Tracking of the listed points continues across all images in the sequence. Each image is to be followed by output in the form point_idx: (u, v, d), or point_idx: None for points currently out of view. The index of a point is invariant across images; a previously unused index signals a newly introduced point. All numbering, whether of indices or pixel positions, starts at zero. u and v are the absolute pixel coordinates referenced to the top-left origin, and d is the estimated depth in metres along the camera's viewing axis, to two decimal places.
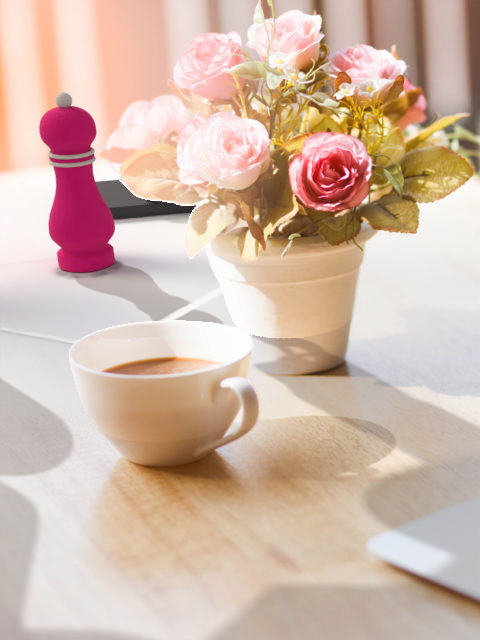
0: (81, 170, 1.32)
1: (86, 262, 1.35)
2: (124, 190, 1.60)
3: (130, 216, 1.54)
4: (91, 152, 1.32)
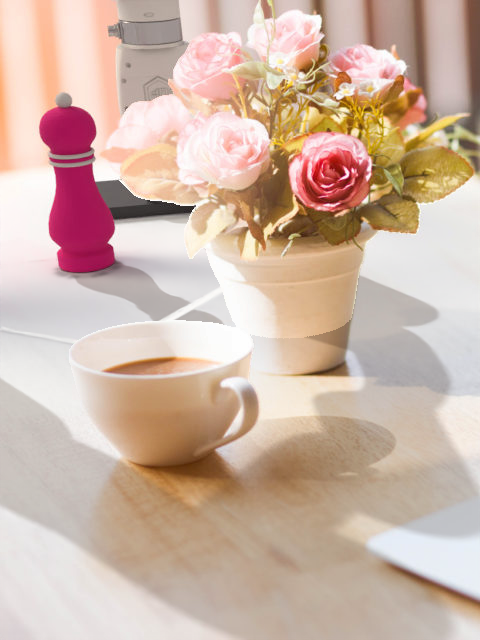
0: (81, 170, 1.32)
1: (86, 262, 1.35)
2: (124, 190, 1.60)
3: (130, 216, 1.54)
4: (91, 152, 1.32)
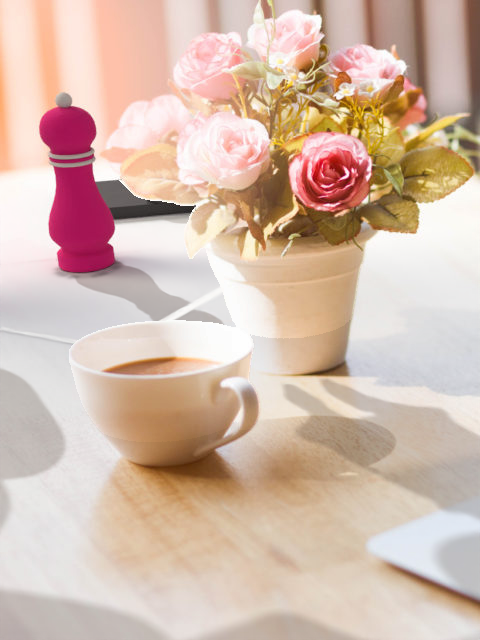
0: (81, 170, 1.32)
1: (86, 262, 1.35)
2: (124, 190, 1.60)
3: (130, 216, 1.54)
4: (91, 152, 1.32)
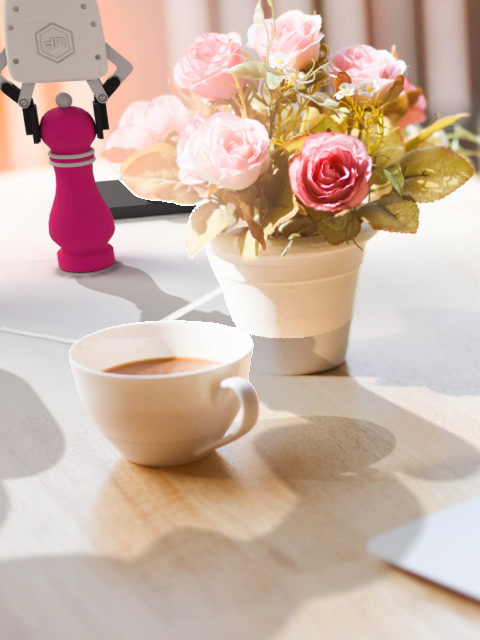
0: (81, 170, 1.32)
1: (86, 262, 1.35)
2: (124, 190, 1.60)
3: (130, 216, 1.54)
4: (91, 152, 1.32)
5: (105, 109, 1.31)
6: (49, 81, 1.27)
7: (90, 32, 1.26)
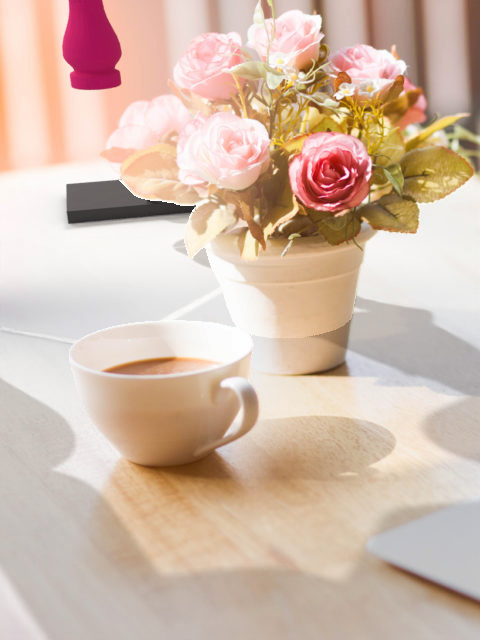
0: None
1: (96, 80, 1.50)
2: (124, 190, 1.60)
3: (130, 216, 1.54)
4: None
5: None
6: None
7: None
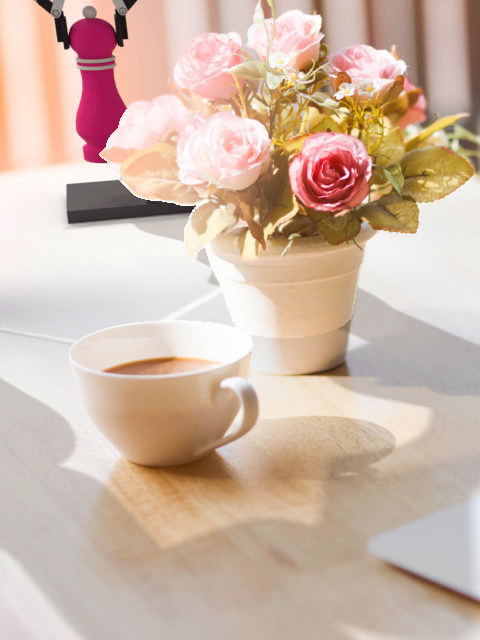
0: (104, 73, 1.53)
1: None
2: (124, 190, 1.60)
3: (130, 216, 1.54)
4: (113, 58, 1.54)
5: (125, 21, 1.53)
6: None
7: None
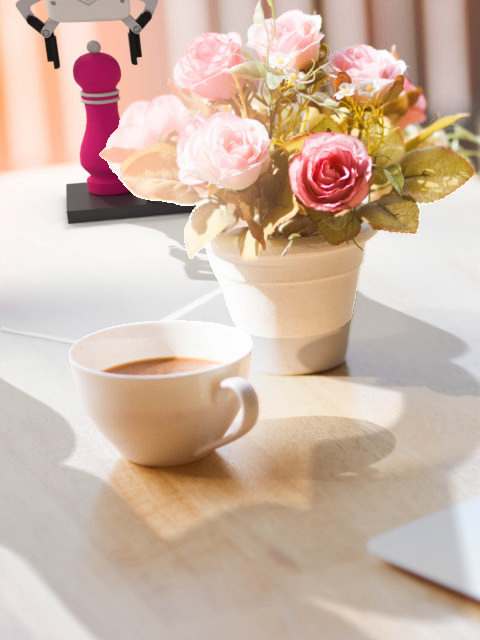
0: (108, 107, 1.55)
1: (112, 186, 1.58)
2: None
3: (130, 216, 1.54)
4: (116, 92, 1.55)
5: (139, 39, 1.54)
6: (81, 21, 1.49)
7: None
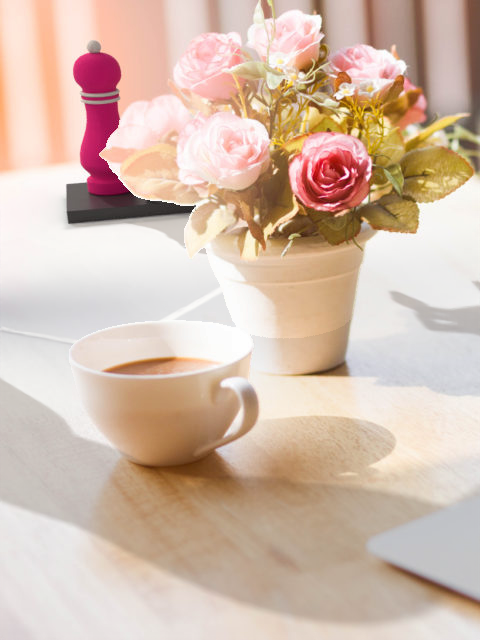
0: (108, 107, 1.55)
1: (112, 186, 1.58)
2: None
3: (130, 216, 1.54)
4: (117, 92, 1.55)
5: None
6: None
7: None
